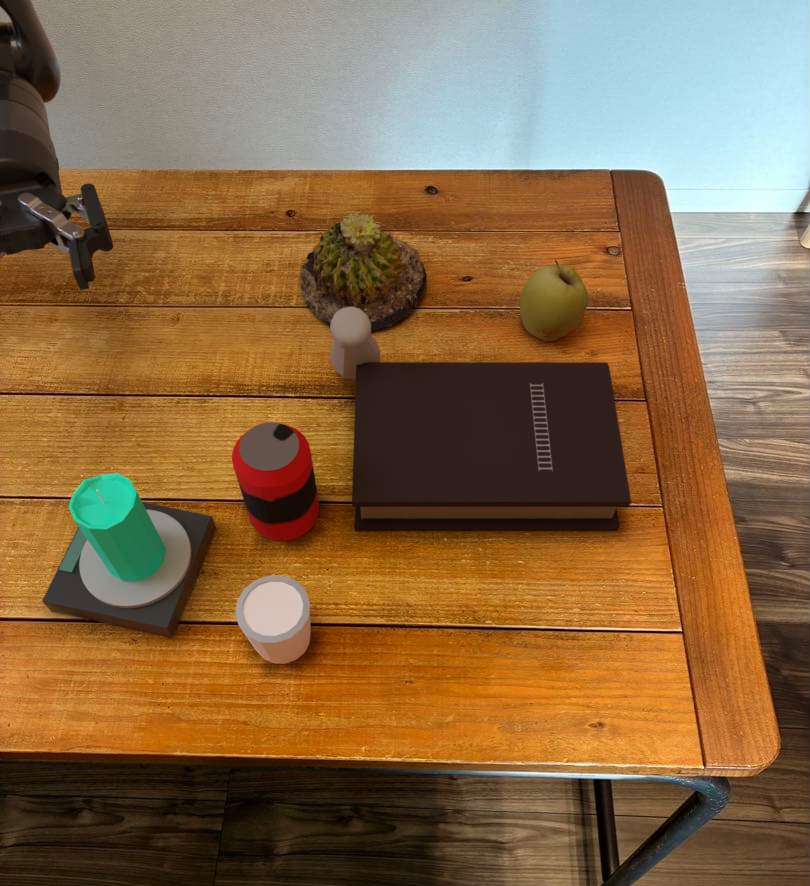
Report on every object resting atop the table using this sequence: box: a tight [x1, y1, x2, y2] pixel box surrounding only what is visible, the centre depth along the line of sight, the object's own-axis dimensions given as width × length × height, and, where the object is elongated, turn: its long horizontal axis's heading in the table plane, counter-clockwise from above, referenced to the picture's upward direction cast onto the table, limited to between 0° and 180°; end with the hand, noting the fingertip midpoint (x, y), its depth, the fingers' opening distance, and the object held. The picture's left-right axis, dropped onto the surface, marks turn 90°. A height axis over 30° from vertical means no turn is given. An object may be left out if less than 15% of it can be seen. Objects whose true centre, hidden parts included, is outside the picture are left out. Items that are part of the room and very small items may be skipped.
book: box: [351, 361, 632, 532], centre depth 89 cm, size 28×20×6 cm
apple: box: [519, 259, 589, 342], centre depth 97 cm, size 8×8×10 cm
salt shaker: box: [329, 307, 381, 381], centre depth 90 cm, size 6×6×13 cm
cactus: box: [299, 211, 428, 331], centre depth 101 cm, size 17×16×10 cm
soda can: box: [231, 421, 320, 541], centre depth 83 cm, size 8×8×12 cm
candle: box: [67, 472, 166, 581], centre depth 77 cm, size 6×6×12 cm
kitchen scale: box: [41, 501, 217, 639], centre depth 83 cm, size 13×13×3 cm
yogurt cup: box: [234, 574, 311, 665], centre depth 78 cm, size 7×7×7 cm
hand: (27, 292), depth 65 cm, fingers open, 8 cm apart
